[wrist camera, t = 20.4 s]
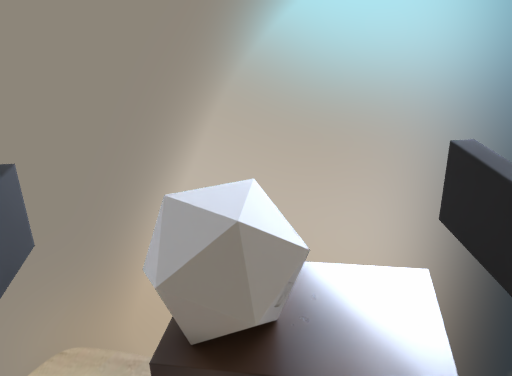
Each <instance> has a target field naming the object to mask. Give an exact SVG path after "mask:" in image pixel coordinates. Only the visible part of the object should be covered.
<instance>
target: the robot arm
mask: <svg viewBox="0 0 512 376" xmlns="http://www.w3.org/2000/svg"><path fill="white" fill-rule="evenodd" d="M439 220H440V221H441V222H442V223H443V224H444V225H445V226H446V227H447V228H448V230H449V231H450V232H452V234H453V235H454V236H455V237H456V238H457V239H458V240H459V241H460V242H461V243H462V244H463V245H464V246H465V248H466V249H467V250H468V251H469V252H470V253H471V254H472V255H473V256H474V257H475V258H476V259H477V260H478V261H479V263H480V264H481V265H482V266H483V267H484V268H485V269H486V270H487V271H488V272H489V273H490V274H491V275H492V276H493V277H494V278H495V280H497V282H498V283H499V284H500V285H501V286H502V287H503V288H504V289H505V290H506V291H507V292H508V293H509V294H510V296H511V297H512V162H510V161H508V160H507V159H505V158H504V157H502V156H500V155H499V154H497V153H495V152H494V151H492V150H490V149H489V148H487V147H486V146H484V145H483V144H481V143H479V142H478V141H476V140H474V139H470V140H451V141H450V146H449V154H448V160H447V167H446V174H445V181H444V188H443V195H442V201H441V209H440V215H439ZM34 246H35V245H34V241H33V237H32V233H31V229H30V225H29V221H28V217H27V213H26V208H25V204H24V200H23V196H22V192H21V188H20V184H19V180H18V176H17V172H16V168H15V164H2V165H0V298H1V297H2V295H3V294H4V292H5V291H6V289H7V287H8V286H9V284H10V283H11V281H12V280H13V278H14V277H15V275H16V274H17V272H18V270H19V269H20V267H21V266H22V264H23V263H24V261H25V260H26V258H27V256H28V255H29V253H30V252H31V250H32V249H33V247H34Z"/></svg>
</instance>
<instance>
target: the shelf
mask: <svg viewBox="0 0 512 376" xmlns="http://www.w3.org/2000/svg"><path fill="white" fill-rule="evenodd" d="M149 365H150V371H151V376H459V375H458V371H457V368H456V364H455V361H454V357H453V354H452V350H451V347H450V343H449V340H448V337H447V333H446V329H445V326H444V322H443V319H442V315H441V312H440V308H439V305H438V301H437V298H436V295H435V291H434V287H433V284H432V280H431V277H430V274H429V270H428V269H416V268H400V267H385V266H369V265H353V264H337V263H320V262H304V264H303V266H302V268H301V270H300V272H299V275H298V277H297V279H296V281H295V283H294V285H293V287H292V289H291V292H290V294H289V296H288V298H287V300H286V302H285V304H284V306H283V309H282V311H281V313H280V315H279V317H278V319H277V320H275V321H271V322H268V323H264V324H261V325H258V326H254V327H251V328H247V329H244V330H241V331H237V332H234V333H230V334H227V335H224V336H220V337H217V338H213V339H210V340H207V341H203V342H200V343H196V344H193V345H191V344H190V342H189V341H188V339H187V338H186V336H185V335H184V333H183V332H182V330H181V328H180V327H179V325H178V324H177V322H176V321H175V319H174V318H173V317H172V319H171V321H170V323H169V325H168V327H167V329H166V331H165V333H164V335H163V337H162V339H161V341H160V343H159V345H158V347H157V349H156V351H155V353H154V355H153V357H152V359H151V361H150V363H149Z"/></svg>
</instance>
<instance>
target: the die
mask: <svg viewBox="0 0 512 376" xmlns="http://www.w3.org/2000/svg"><path fill="white" fill-rule="evenodd" d="M309 251H310V249H309V248H308V247H307V245H306V244H305V243H304V242H303V240H302V239H301V238H300V236H299V235H298V234H297V233H296V231H295V230H294V229H293V228H292V226H291V225H290V224H289V223H288V221H287V220H286V219H285V217H284V216H283V215H282V214H281V212H280V211H279V210H278V209H277V207H276V206H275V205H274V203H273V202H272V201H271V200H270V198H269V197H268V196H267V195H266V193H265V192H264V191H263V190H262V188H261V187H260V186H259V184H258V183H257V182H256V181H255V179H249V180H244V181H238V182H233V183H227V184H222V185H216V186H211V187H205V188H200V189H195V190H190V191H184V192H179V193H174V194H168V195H164V198H163V201H162V205H161V208H160V211H159V215H158V218H157V222H156V225H155V229H154V232H153V236H152V239H151V243H150V246H149V249H148V253H147V256H146V260H145V263H144V267H143V271H144V272H145V274H146V276H147V277H148V279H149V280H150V282H151V283H152V285H153V286H154V288H155V290H156V291H157V293H158V294H159V296H160V297H161V299H162V300H163V302H164V303H165V305H166V307H167V308H168V310H169V311H170V313H171V314H172V316H173V318H174V319H175V321H176V322H177V324H178V325H179V327H180V328H181V330H182V332H183V333H184V335H185V336H186V338H187V339H188V341H189V342H190V344H191V345H193V344H196V343H200V342H203V341H207V340H210V339H213V338H217V337H220V336H224V335H227V334H230V333H234V332H237V331H241V330H244V329H247V328H251V327H254V326H258V325H261V324H264V323H268V322H271V321H275V320H277V319H278V317H279V315H280V313H281V311H282V309H283V306H284V304H285V302H286V300H287V298H288V296H289V294H290V292H291V289H292V287H293V285H294V283H295V281H296V279H297V277H298V275H299V272H300V270H301V268H302V266H303V264H304V262H305V260H306V258H307V255H308V253H309Z"/></svg>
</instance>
